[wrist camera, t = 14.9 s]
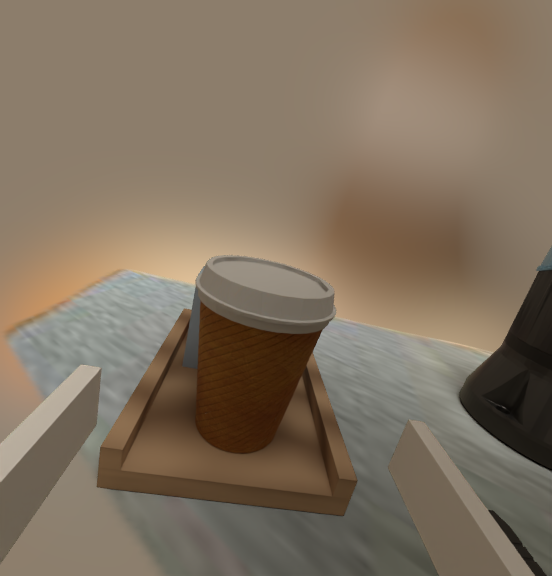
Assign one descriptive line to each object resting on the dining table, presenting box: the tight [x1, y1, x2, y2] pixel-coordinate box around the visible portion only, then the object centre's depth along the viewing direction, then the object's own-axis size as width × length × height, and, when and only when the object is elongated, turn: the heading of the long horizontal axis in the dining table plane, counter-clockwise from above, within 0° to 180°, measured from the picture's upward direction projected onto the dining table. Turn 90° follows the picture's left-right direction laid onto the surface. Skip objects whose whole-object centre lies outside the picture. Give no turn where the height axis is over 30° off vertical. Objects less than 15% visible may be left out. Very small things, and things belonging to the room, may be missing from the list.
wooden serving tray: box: [97, 309, 357, 516], centre depth 29 cm, size 22×15×3 cm
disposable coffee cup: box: [195, 255, 336, 453], centre depth 22 cm, size 10×10×12 cm
